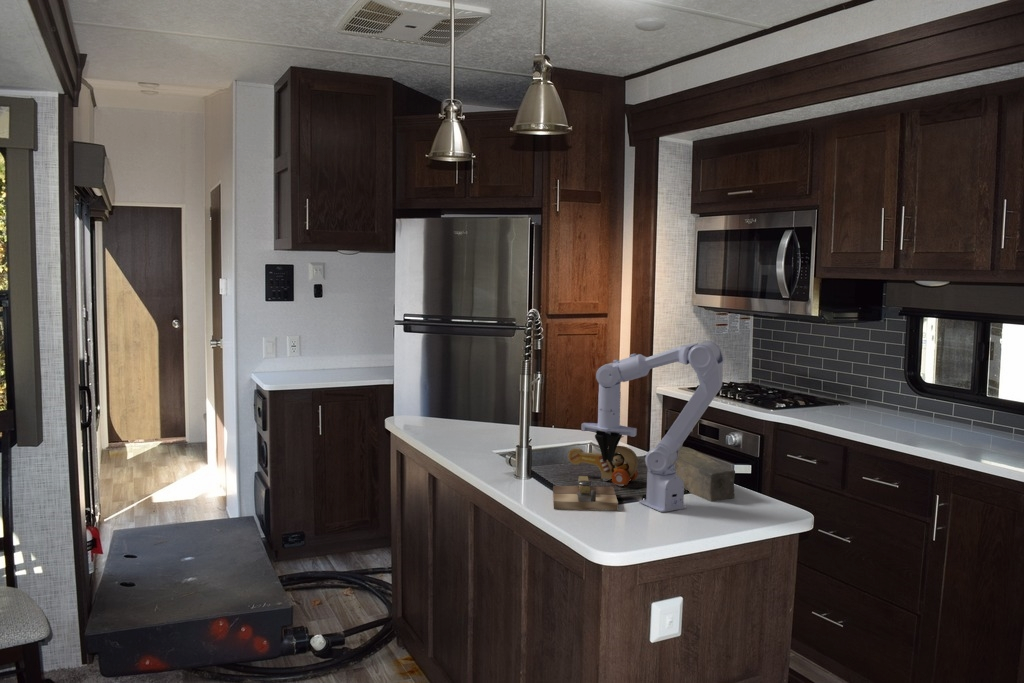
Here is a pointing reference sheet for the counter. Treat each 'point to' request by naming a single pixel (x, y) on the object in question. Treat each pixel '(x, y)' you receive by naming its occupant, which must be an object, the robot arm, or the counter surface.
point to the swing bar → (584, 484)
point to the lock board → (584, 498)
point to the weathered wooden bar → (704, 475)
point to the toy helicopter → (609, 463)
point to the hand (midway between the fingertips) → (607, 460)
